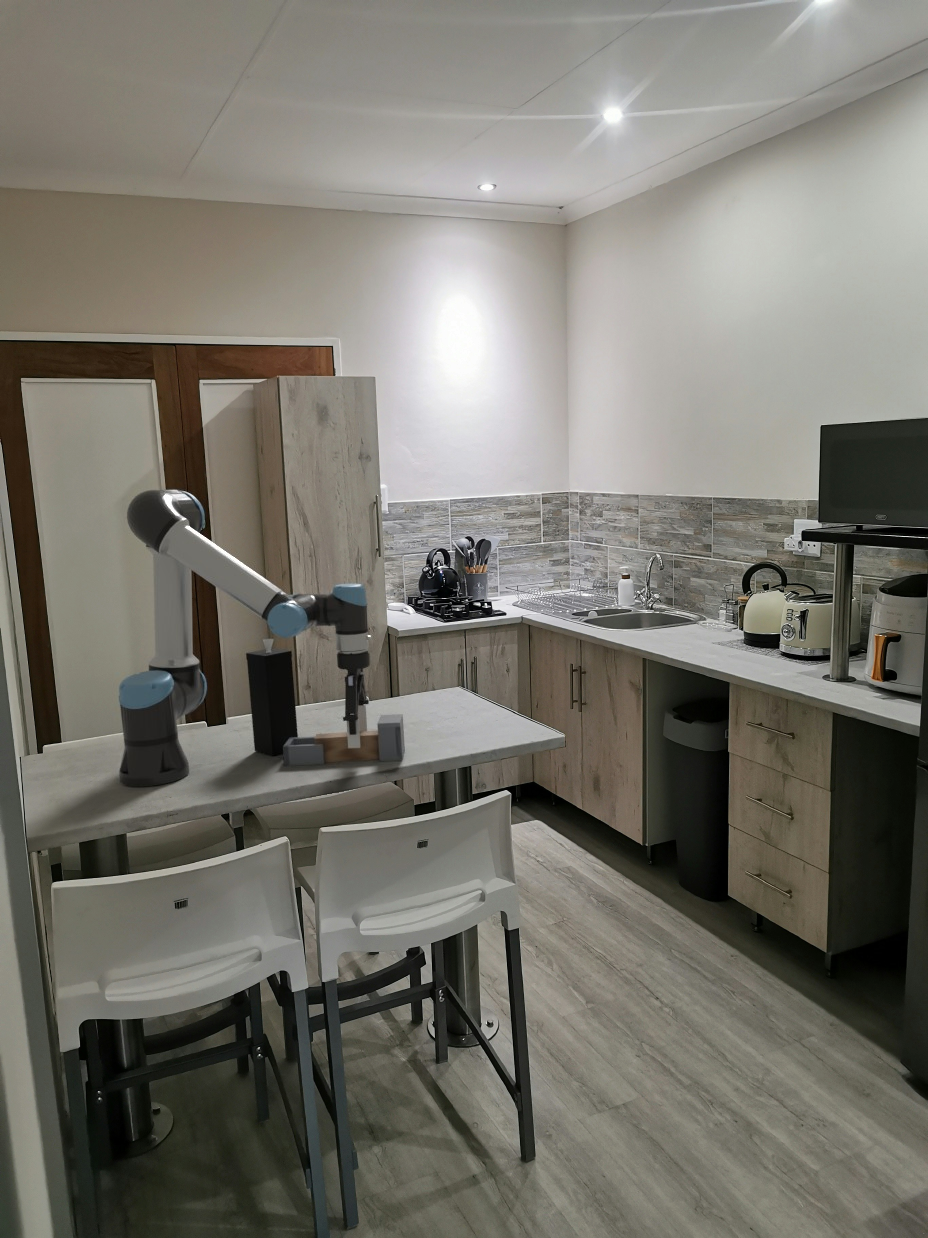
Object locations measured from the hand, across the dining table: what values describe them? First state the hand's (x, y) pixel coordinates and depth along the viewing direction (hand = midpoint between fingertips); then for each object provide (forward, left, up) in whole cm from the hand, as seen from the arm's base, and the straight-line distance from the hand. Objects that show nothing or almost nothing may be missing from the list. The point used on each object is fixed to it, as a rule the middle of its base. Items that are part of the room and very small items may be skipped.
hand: (358, 739), depth 216 cm
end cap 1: (-12, 0, -4) cm, 13 cm away
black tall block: (-21, +9, -4) cm, 24 cm away
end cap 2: (+8, 0, -4) cm, 9 cm away
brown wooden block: (-1, 0, -5) cm, 5 cm away
